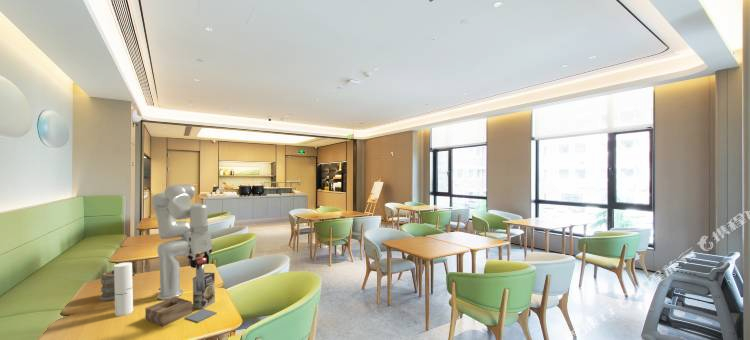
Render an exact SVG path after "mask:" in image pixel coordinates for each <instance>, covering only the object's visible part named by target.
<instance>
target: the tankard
mask: <svg viewBox="0 0 750 340" xmlns="http://www.w3.org/2000/svg"><path fill="white" fill-rule="evenodd" d="M135 274H136V273H135V272H134V271H132V277H134V276H135ZM101 276H102V277H101V280H100V284H101V285H102V287H101V288H100V292H101V293H102V294H101V295H100V296H99V300H100V301H104V302H106V301H107V302H109V301H113V300H114V301H115V285H114V269H113V270H109V271H105V272H104V273H103V274H102V275H101Z"/></svg>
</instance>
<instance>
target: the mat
mask: <svg viewBox="0 0 750 340" xmlns="http://www.w3.org/2000/svg"><path fill="white" fill-rule="evenodd" d="M216 314H218V313H217V312H215V311H212V310H210V309H206V308H204V309H200V310H197V311H196V312H192V313H191V314H189V315H187V316H185V317H184V319H185V320H188V321H192V322H194V323H200V322H203V321H204V320H206V319H208V318H211V317H212V316H215V315H216Z"/></svg>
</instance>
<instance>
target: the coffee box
mask: <svg viewBox="0 0 750 340" xmlns="http://www.w3.org/2000/svg"><path fill="white" fill-rule="evenodd" d="M215 275H216V273H215V272H204V281H205V290H204V291H201V292H197V291H196V276H194V277H192V309H200V310H202V309H206V308H207V307H209V306H210V305H212V304H213V303H215V302H216V286H215V283H216V282H215V279H216V276H215Z"/></svg>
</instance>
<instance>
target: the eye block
mask: <svg viewBox="0 0 750 340" xmlns="http://www.w3.org/2000/svg"><path fill="white" fill-rule="evenodd" d="M144 309H145V311H144V312H145V321H146V322H150V323H153V324H156V325H158V326H160V327H164V326H167V325H169V324H171V323H174V322H176V321H178V320H180V319H182V318H185V317H187V316H189V315H191V314H193V300H188V299H184V298H180V297H173V298H170V299H166V300H162V301H160V302H158V303H155V304H152V305H149V306H147V307H145V308H144Z"/></svg>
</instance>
